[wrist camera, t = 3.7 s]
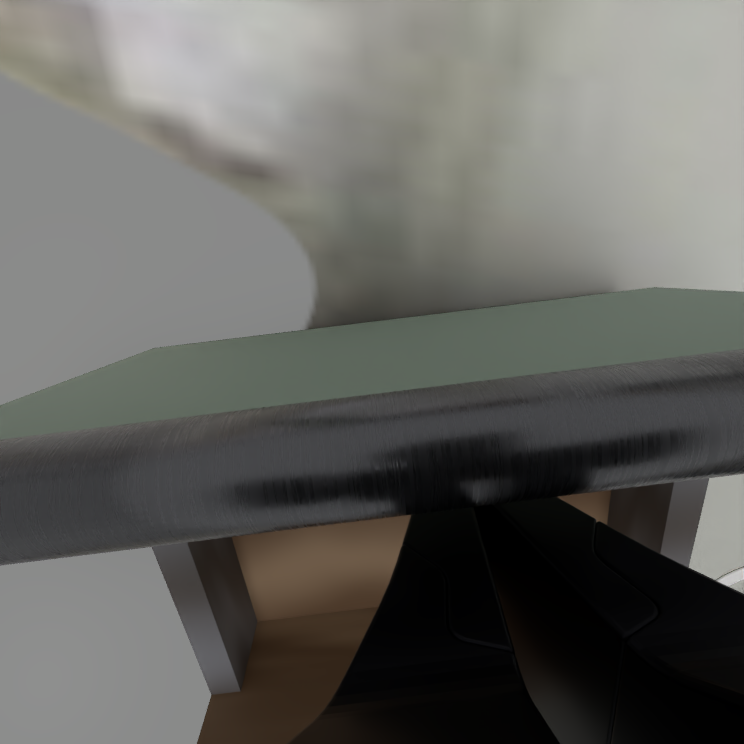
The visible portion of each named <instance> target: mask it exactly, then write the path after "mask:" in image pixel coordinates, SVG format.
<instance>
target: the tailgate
mask: <svg viewBox="0 0 744 744" xmlns="http://www.w3.org/2000/svg"><path fill="white" fill-rule="evenodd" d="M738 474H744V292H736V291H716V290H697V289H677V288H657V287H654V288H646V289H638V290H629V291H621V292H613V293H605V294H596V295H588V296H580V297H572V298H564V299H555V300H547V301H539V302H531V303H522V304H514V305H506V306H498V307H489V308H481V309H473V310H465V311H456V312H448V313H440V314H432V315H423V316H415V317H407V318H399V319H391V320H382V321H374V322H366V323H358V324H349V325H341V326H333V327H325V328H316V329H308V330H300V331H292V332H283V333H275V334H267V335H259V336H251V337H243V338H234V339H226V340H218V341H209V342H201V343H193V344H185V345H176V346H168V347H160V348H153V349H151V350H148V351H145V352H143V353H140V354H137V355H135V356H132V357H129V358H126V359H124V360H121V361H118V362H116V363H113V364H110V365H108V366H105V367H102V368H99V369H97V370H94V371H91V372H89V373H86V374H83V375H81V376H78V377H75V378H73V379H70V380H67V381H64V382H62V383H59V384H56V385H54V386H51V387H48V388H46V389H43V390H40V391H38V392H35V393H32V394H30V395H27V396H24V397H21V398H19V399H16V400H13V401H11V402H8V403H5V404H3V405H0V565H7V564H15V563H24V562H31V561H40V560H47V559H56V558H64V557H72V556H80V555H88V554H96V553H105V552H113V551H120V550H129V549H137V548H145V547H153V546H162V545H170V544H178V543H186V542H194V541H202V540H210V539H218V538H226V537H235V536H243V535H251V534H259V533H267V532H275V531H283V530H291V529H299V528H308V527H316V526H324V525H332V524H340V523H348V522H356V521H364V520H372V519H381V518H389V517H397V516H405V515H413V514H421V513H429V512H437V511H445V510H454V509H462V508H470V507H478V506H486V505H494V504H502V503H510V502H519V501H527V500H535V499H543V498H551V497H559V496H567V495H575V494H583V493H592V492H600V491H608V490H616V489H624V488H632V487H640V486H648V485H656V484H665V483H673V482H681V481H689V480H697V479H705V478H713V477H721V476H729V475H738Z"/></svg>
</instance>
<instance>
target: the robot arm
mask: <svg viewBox="0 0 744 744" xmlns="http://www.w3.org/2000/svg"><path fill="white" fill-rule="evenodd" d="M287 744H744V594H743V593H741V592H739V591H736V590H734V589H732V588H730V587H728V586H726V585H724V584H722V583H720V582H718V581H715V580H713V579H711V578H709V577H707V576H705V575H703V574H701V573H699V572H697V571H695V570H692V569H690V568H688V567H686V566H684V565H682V564H680V563H678V562H676V561H674V560H672V559H670V558H668V557H666V556H664V555H662V554H660V553H658V552H656V551H654V550H652V549H650V548H648V547H646V546H644V545H643V544H641V543H639V542H637V541H635V540H633V539H631V538H630V537H628V536H626V535H624V534H622V533H620V532H618V531H617V530H615V529H613V528H611V527H610V526H608V525H606V524H604V523H603V522H601V521H598V522H597V520H596V519H595V518H593V517H592V516H590V515H588V514H586V513H585V512H583V511H581V510H579V509H577V508H576V507H574V506H572V505H570V504H569V503H567V502H565V501H563V500H562V499H560V498H558V497H551V498H543V499H535V500H527V501H519V502H510V503H502V504H494V505H486V506H478V507H470V508H462V509H454V510H445V511H437V512H429V513H421V514H413V515H411V516H410V520H409V523H408V526H407V530H406V533H405V536H404V540H403V543H402V546H401V549H400V552H399V555H398V559H397V562H396V565H395V567H394V570H393V573H392V576H391V579H390V581H389V584H388V586H387V588H386V591H385V593H384V595H383V597H382V600H381V602H380V604H379V606H378V608H377V610H376V613H375V615H374V617H373V619H372V621H371V623H370V625H369V627H368V629H367V631H366V633H365V635H364V637H363V639H362V641H361V643H360V645H359V647H358V649H357V651H356V653H355V655H354V657H353V659H352V661H351V663H350V665H349V667H348V669H347V671H346V673H345V675H344V677H343V679H342V681H341V683H340V685H339V687H338V689H337V690H336V692H335V694H334V695H333V697H332V699H331V700H330V701H329V703H328V704H327V706H326V707H325V708H324V710H323V711H322V712H321V713H320V714H319V715H318V717H317V718H316V719H315V720H314V721H313V722H311V723H310V724H309V725H308V726H307V727H306V728H304V729H303V730H302V731H301V732H300V733H298V734H297V735H296V736H295V737H294V738H293V739H291V740H290V741H289V742H288V743H287Z"/></svg>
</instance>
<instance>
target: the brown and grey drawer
mask: <svg viewBox="0 0 744 744" xmlns="http://www.w3.org/2000/svg"><path fill="white" fill-rule="evenodd" d="M708 481H709V478H705V479H697V480H689V481H681V482H673V483H665V484H656V485H648V486H640V487H632V488H624V489H616V490H608V491H600V492H592V493H583V494H575V495H567V496H559V497H558V498H560V499H562V500H563V501H565V502H567V503H569V504H570V505H572V506H574V507H576V508H577V509H579V510H581V511H583V512H585V513H586V514H588V515H590V516H592V517H593V518H595V519H596V520H597V522H598V521H601V522H603V523H604V524H606V525H608V526H610V527H611V528H613V529H615V530H617V531H618V532H620V533H622V534H624V535H626V536H628V537H630V538H631V539H633V540H635V541H637V542H639V543H641V544H643V545H644V546H646V547H648V548H650V549H652V550H654V551H656V552H658V553H660V554H662V555H664V556H666V557H668V558H670V559H672V560H674V561H676V562H678V563H680V564H682V565H684V566H686V567H689V563H690V558H691V554H692V550H693V545H694V541H695V537H696V533H697V528H698V524H699V520H700V515H701V511H702V507H703V503H704V498H705V494H706V490H707V485H708ZM410 516H411V515H405V516H397V517H389V518H381V519H372V520H364V521H356V522H348V523H340V524H332V525H324V526H316V527H308V528H299V529H291V530H283V531H275V532H267V533H259V534H251V535H243V536H235V537H226V538H218V539H210V540H202V541H194V542H186V543H178V544H170V545H162V546H153V547H152V549H153V551H154V554H155V556H156V559H157V561H158V564H159V566H160V569H161V571H162V574H163V576H164V579H165V581H166V583H167V586H168V588H169V591H170V593H171V596H172V598H173V601H174V603H175V606H176V608H177V611H178V613H179V616H180V618H181V621H182V623H183V626H184V628H185V630H186V633H187V635H188V638H189V640H190V643H191V645H192V648H193V650H194V652H195V655H196V658H197V660H198V663H199V665H200V667H201V670H202V672H203V675H204V677H205V680H206V682H207V685H208V687H209V690H210V692H211V699H210V702H209V705H208V709H207V712H206V715H205V719H204V722H203V726H202V729H201V732H200V735H199V739H198V742H197V744H287V743H288V742H289V741H290V740H291V739H293V738H294V737H295V736H296V735H297V734H298V733H300V732H301V731H302V730H303V729H304V728H306V727H307V726H308V725H309V724H310V723H311V722H313V721H314V720H315V719H316V718H317V717H318V715H319V714H320V713H321V712H322V711H323V710H324V708H325V707H326V706H327V704H328V703H329V701H330V700H331V699H332V697H333V695H334V694H335V692H336V690H337V689H338V687H339V685H340V683H341V681H342V679H343V677H344V675H345V673H346V671H347V669H348V667H349V665H350V663H351V661H352V659H353V657H354V655H355V653H356V651H357V649H358V647H359V645H360V643H361V641H362V639H363V637H364V635H365V633H366V631H367V629H368V627H369V625H370V623H371V621H372V619H373V617H374V615H375V613H376V610H377V608H378V606H379V604H380V602H381V600H382V597H383V595H384V593H385V591H386V588H387V586H388V584H389V581H390V579H391V576H392V573H393V570H394V567H395V565H396V562H397V559H398V555H399V552H400V549H401V546H402V543H403V540H404V536H405V533H406V530H407V526H408V523H409V520H410Z"/></svg>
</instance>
